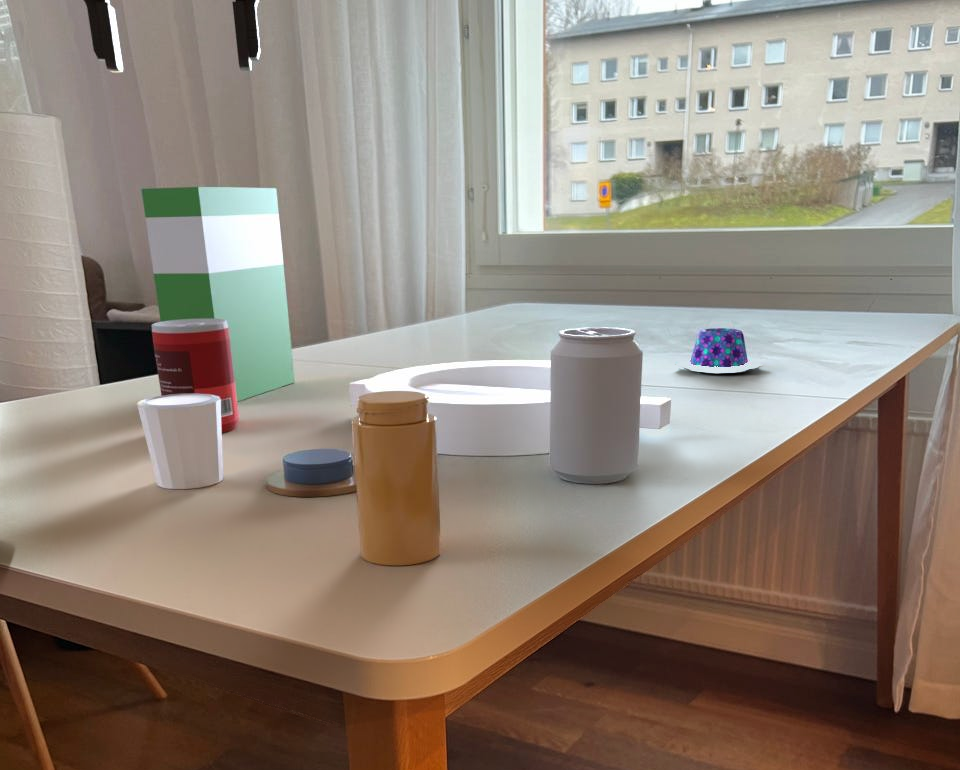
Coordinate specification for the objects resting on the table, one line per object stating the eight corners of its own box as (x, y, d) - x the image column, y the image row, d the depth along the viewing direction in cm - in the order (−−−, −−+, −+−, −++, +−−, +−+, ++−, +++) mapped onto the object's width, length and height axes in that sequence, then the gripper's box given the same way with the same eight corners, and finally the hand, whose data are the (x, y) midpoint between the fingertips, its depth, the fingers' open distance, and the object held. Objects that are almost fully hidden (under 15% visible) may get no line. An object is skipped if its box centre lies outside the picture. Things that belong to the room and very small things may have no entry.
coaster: (266, 500, 80) (265, 493, 79) (266, 474, 88) (265, 467, 88) (378, 492, 81) (377, 485, 81) (367, 467, 89) (367, 460, 89)
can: (617, 490, 80) (623, 336, 75) (534, 480, 84) (534, 332, 79) (650, 469, 86) (657, 326, 81) (571, 461, 90) (573, 323, 85)
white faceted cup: (182, 495, 82) (170, 409, 79) (132, 483, 86) (119, 401, 83) (246, 477, 87) (237, 396, 84) (197, 467, 91) (186, 389, 88)
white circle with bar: (345, 412, 114) (342, 369, 112) (572, 394, 121) (572, 354, 119) (402, 467, 89) (400, 413, 87) (682, 440, 97) (685, 390, 95)
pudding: (729, 379, 129) (732, 337, 127) (655, 370, 137) (657, 331, 135) (780, 368, 136) (784, 329, 134) (707, 361, 145) (710, 323, 142)
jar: (376, 570, 64) (365, 407, 60) (350, 547, 68) (338, 394, 64) (453, 557, 66) (448, 398, 62) (423, 536, 70) (416, 386, 66)
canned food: (245, 420, 111) (233, 317, 106) (233, 435, 103) (220, 325, 99) (175, 422, 110) (160, 319, 106) (159, 437, 103) (142, 327, 99)
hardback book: (246, 380, 137) (224, 189, 127) (294, 382, 135) (276, 188, 125) (172, 403, 122) (141, 188, 112) (225, 405, 119) (198, 186, 110)
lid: (353, 466, 87) (352, 447, 87) (353, 482, 82) (352, 462, 81) (286, 469, 87) (284, 450, 86) (282, 486, 81) (280, 465, 81)
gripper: (266, -211, 64) (291, 76, 70) (37, -216, 62) (83, 78, 69) (257, -262, 57) (285, 61, 64) (-1, -269, 56) (55, 63, 62)
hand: (180, 70), depth 66 cm, fingers open, 8 cm apart
